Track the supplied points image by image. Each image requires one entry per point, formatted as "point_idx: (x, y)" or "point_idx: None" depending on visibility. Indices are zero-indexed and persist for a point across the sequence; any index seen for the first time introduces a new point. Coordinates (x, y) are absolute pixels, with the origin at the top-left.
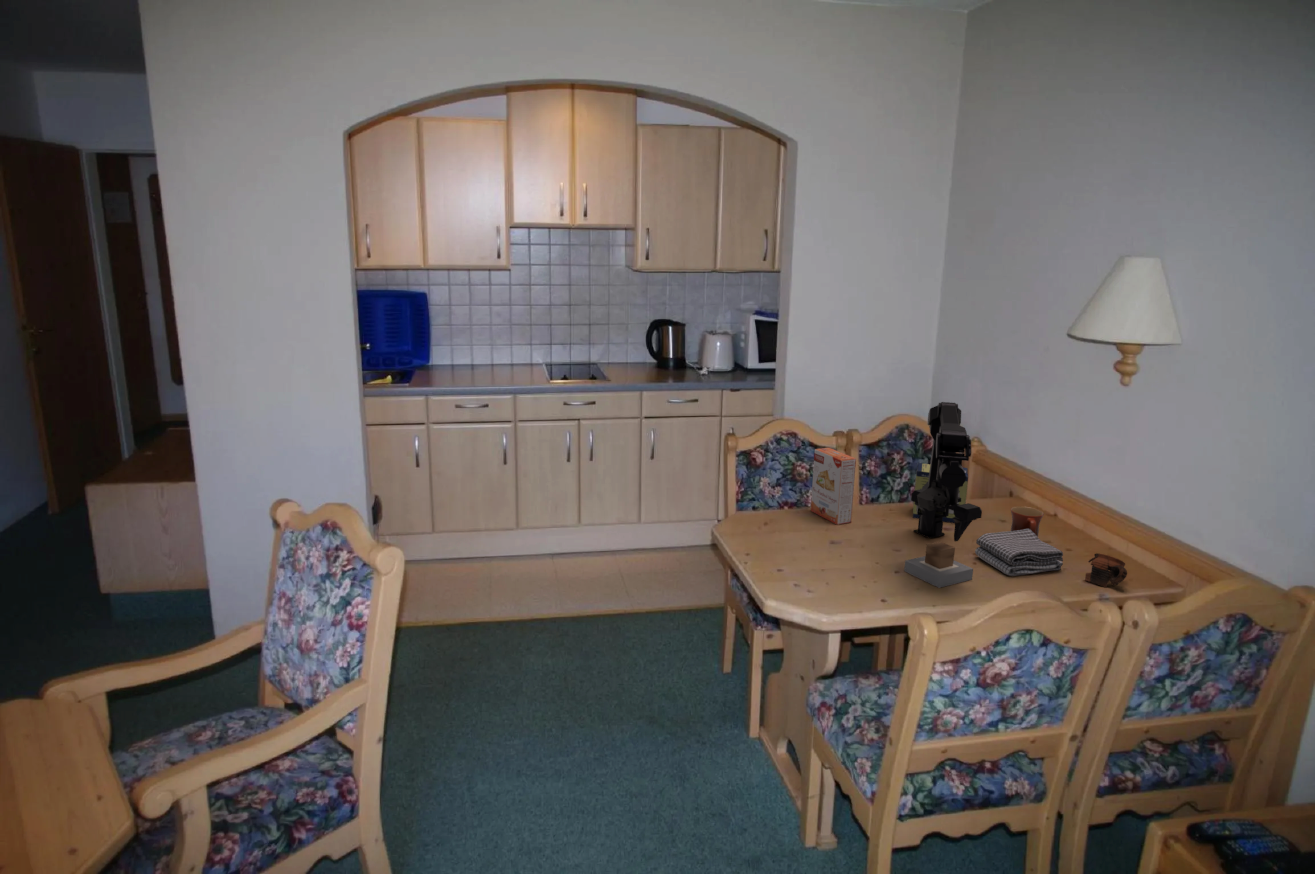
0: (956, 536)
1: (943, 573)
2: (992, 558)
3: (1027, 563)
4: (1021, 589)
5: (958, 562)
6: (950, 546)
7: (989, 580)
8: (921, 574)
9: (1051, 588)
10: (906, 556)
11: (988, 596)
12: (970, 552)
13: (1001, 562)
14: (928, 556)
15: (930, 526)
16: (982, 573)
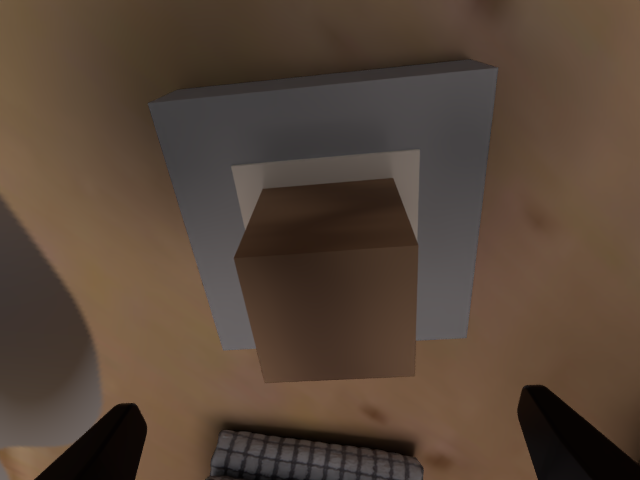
0: (54, 461)
1: (197, 166)
2: (318, 469)
3: None
4: (109, 393)
5: None
6: (295, 371)
7: (210, 359)
8: (320, 79)
9: None
10: (612, 230)
11: (47, 251)
12: (460, 459)
13: (267, 469)
14: (368, 201)
15: (536, 448)
16: None
